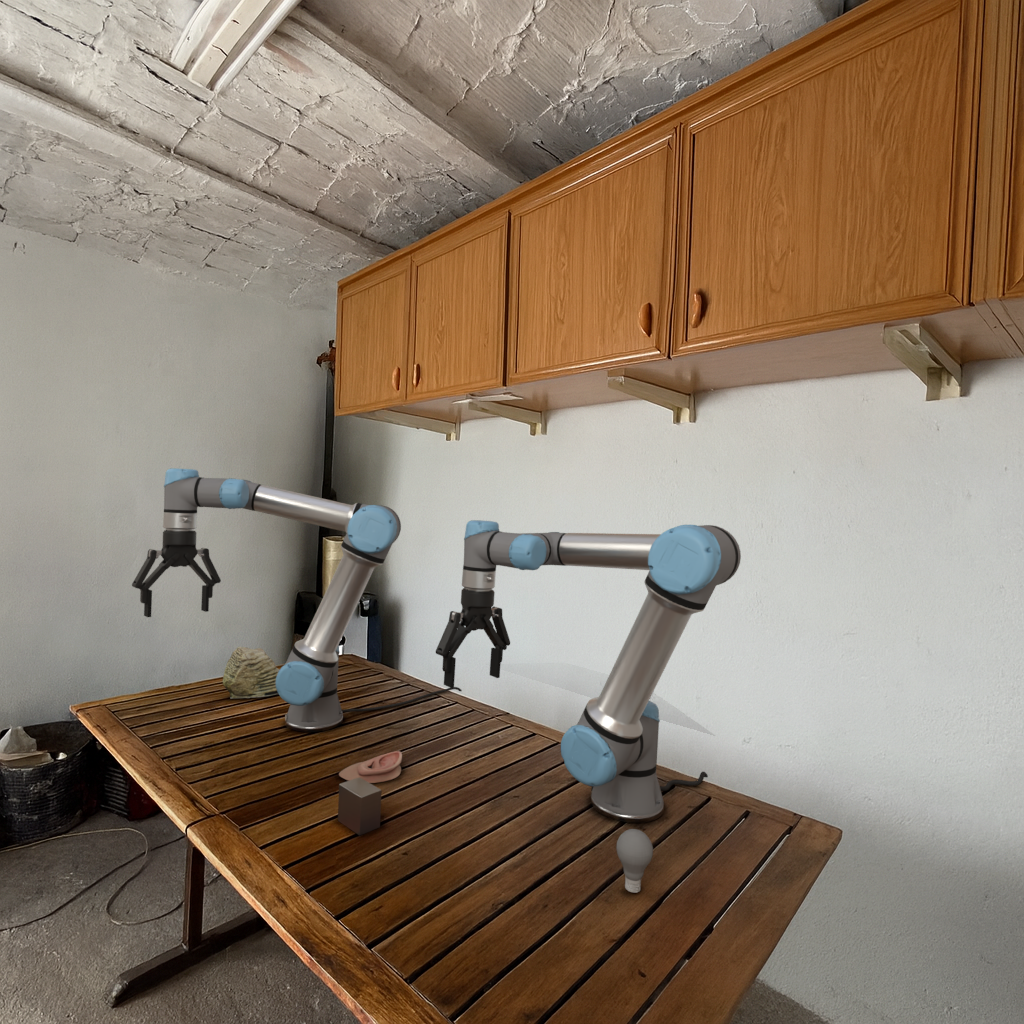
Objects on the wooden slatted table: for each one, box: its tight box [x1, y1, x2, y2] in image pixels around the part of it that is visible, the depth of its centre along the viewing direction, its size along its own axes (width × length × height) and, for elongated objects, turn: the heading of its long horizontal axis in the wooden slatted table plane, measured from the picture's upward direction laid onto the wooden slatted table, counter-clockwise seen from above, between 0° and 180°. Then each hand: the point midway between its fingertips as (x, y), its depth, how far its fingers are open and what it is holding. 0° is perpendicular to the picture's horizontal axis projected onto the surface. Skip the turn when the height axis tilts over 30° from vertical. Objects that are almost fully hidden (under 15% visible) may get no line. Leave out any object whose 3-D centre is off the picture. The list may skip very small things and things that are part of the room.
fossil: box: [222, 646, 280, 699], centre depth 198 cm, size 9×18×15 cm, turn 132°
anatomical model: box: [338, 750, 403, 784], centre depth 146 cm, size 13×4×12 cm
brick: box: [337, 777, 382, 836], centre depth 123 cm, size 8×5×7 cm, turn 47°
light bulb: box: [615, 828, 654, 894], centre depth 106 cm, size 6×6×10 cm
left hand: (177, 613), depth 160 cm, fingers open, 13 cm apart
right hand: (472, 681), depth 144 cm, fingers open, 13 cm apart
